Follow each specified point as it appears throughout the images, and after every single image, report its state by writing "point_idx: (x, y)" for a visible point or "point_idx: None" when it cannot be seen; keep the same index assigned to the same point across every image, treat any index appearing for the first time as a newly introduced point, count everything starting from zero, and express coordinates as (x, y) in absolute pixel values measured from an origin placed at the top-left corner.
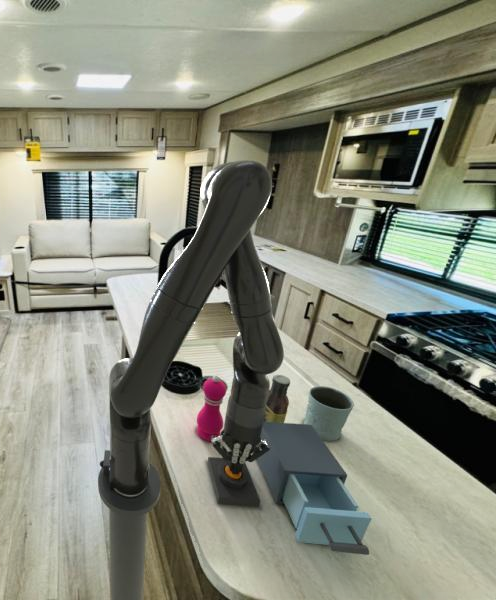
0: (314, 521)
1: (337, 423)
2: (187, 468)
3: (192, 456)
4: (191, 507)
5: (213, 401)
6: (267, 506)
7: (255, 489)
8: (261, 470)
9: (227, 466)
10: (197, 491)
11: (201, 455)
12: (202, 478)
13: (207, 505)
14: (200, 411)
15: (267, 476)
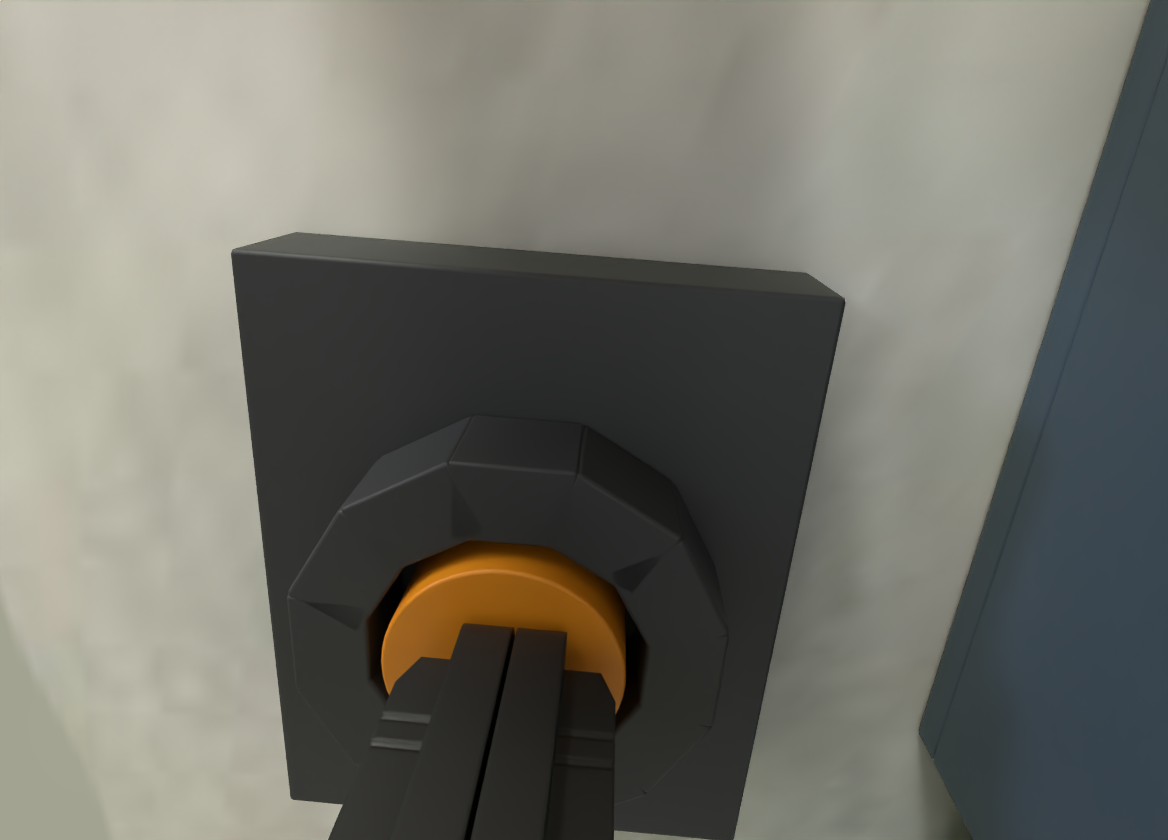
0: None
1: None
2: (17, 323)
3: (79, 104)
4: (82, 740)
5: None
6: (813, 748)
7: (749, 741)
8: (1039, 354)
9: (426, 605)
10: (141, 606)
11: (222, 79)
12: (206, 463)
13: (231, 728)
14: None
15: (1038, 558)
